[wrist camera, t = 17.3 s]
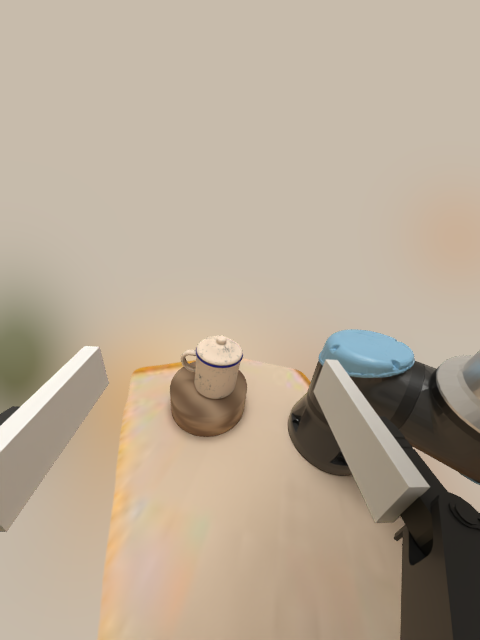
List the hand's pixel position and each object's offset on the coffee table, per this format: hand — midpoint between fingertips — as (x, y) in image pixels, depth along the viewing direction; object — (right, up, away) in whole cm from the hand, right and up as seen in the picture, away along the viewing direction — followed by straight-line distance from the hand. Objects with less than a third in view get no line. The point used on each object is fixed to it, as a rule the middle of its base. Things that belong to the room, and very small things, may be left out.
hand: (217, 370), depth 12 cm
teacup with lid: (-5, -10, +31) cm, 33 cm away
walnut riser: (-6, -16, +34) cm, 38 cm away
